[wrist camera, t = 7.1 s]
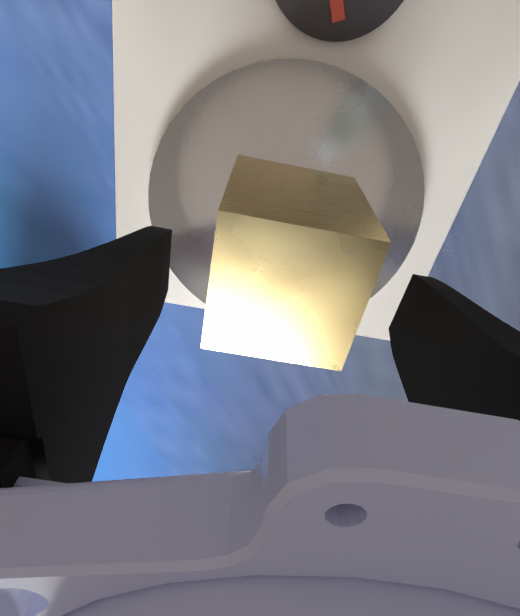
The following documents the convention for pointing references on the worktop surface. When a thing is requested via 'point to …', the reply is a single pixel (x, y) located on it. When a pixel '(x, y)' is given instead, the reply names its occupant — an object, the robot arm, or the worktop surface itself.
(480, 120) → the scale
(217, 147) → the scale pan
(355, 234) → the block
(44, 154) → the worktop surface
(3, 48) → the worktop surface
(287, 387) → the worktop surface
